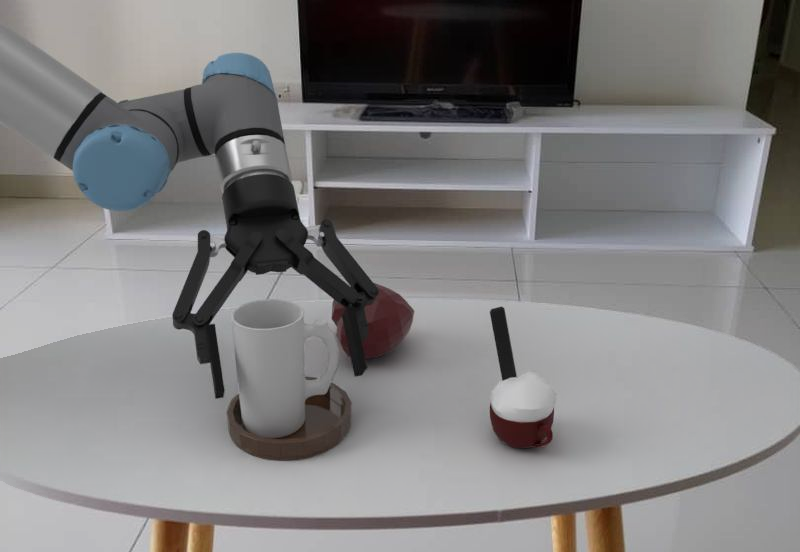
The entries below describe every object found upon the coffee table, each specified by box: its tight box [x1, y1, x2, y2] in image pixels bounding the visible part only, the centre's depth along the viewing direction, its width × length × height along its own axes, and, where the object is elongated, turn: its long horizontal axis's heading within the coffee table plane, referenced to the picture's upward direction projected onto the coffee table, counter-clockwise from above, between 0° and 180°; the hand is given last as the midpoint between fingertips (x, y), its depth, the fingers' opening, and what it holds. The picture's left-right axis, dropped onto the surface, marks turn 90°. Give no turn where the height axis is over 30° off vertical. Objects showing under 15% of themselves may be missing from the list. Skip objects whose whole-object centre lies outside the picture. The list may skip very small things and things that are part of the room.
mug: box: [230, 298, 340, 438], centre depth 73 cm, size 10×7×12 cm, turn 100°
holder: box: [226, 375, 353, 461], centre depth 75 cm, size 12×12×2 cm
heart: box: [331, 282, 415, 360], centre depth 90 cm, size 12×8×10 cm
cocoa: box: [489, 306, 557, 449], centre depth 72 cm, size 10×6×12 cm, turn 4°
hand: (292, 383), depth 71 cm, fingers open, 13 cm apart
